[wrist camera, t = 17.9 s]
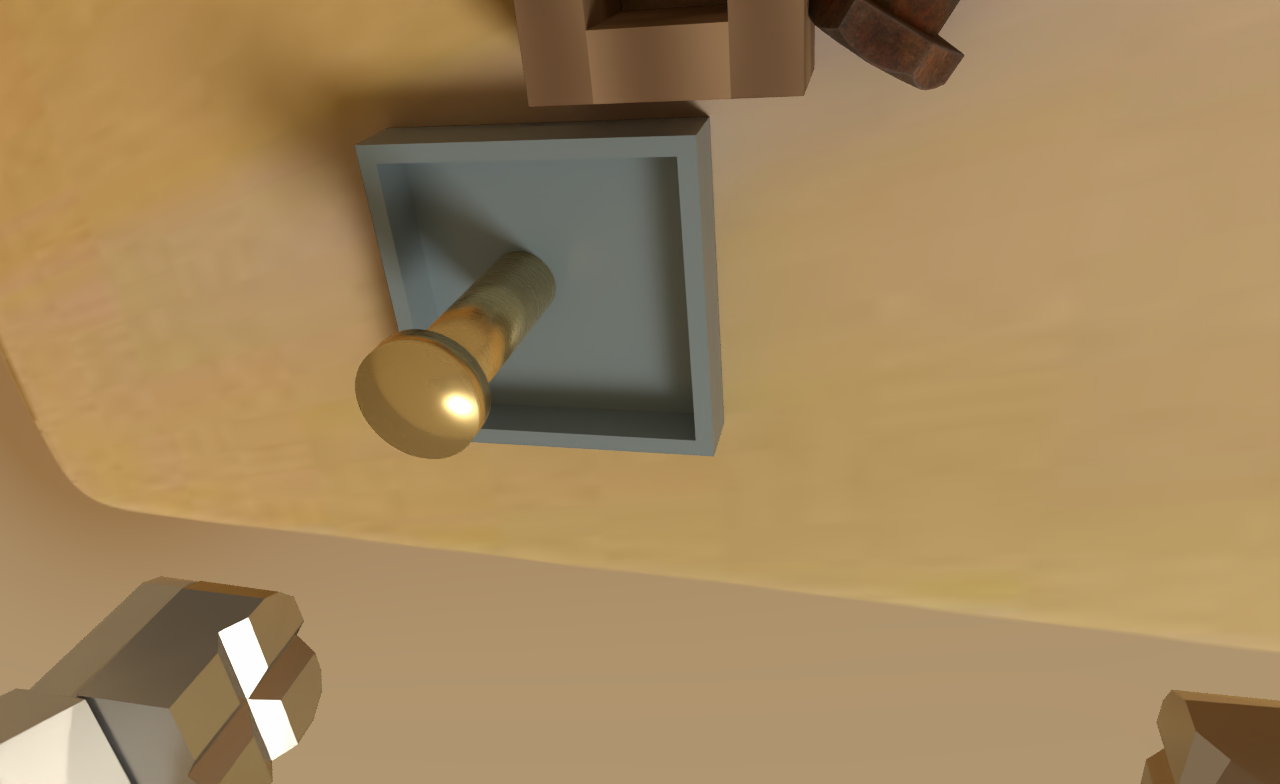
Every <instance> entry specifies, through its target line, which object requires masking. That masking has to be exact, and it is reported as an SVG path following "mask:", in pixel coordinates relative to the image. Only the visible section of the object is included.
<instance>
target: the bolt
mask: <svg viewBox="0 0 1280 784" xmlns="http://www.w3.org/2000/svg"><path fill="white" fill-rule="evenodd" d="M959 1H960V0H809V18H810V20H811V21H812V22H813V24H814V25H815V26H817V27H818V28H819V29H821V30H822V31H823V32H825V33H826V34H827V35H829V36H830V37H831V38H833V39H834V40H835V41H837V42H838V43H840V44H841V45H843V46H844V47H846V48H847V49H849V50H850V51H852V52H853V53H855V54H856V55H858V56H859V57H860V58H862V59H863V60H865V61H866V62H868V63H870V64H871V65H873V66H875V67H877V68H879V69H881V70H883V71H884V72H886V73H888V74H890V75H892V76H894V77H895V78H897V79H899V80H901V81H904V82H906V83H908V84H910V85H912V86H914V87H916V88H919V89H921V90H930V89H934V88H937V87H939V86H941V85H944V84H945V83H946V81H947V80H948V78H949V77H950V75H951V74H952V73H953V71H954V70H955V68H956V67H957V65H958V64H959V63H960V61H961V60H962V58H963V57H964V54H963V53H961V52H960V51H959V50H957V49H956V48H955V47H953V46H952V45H951V44H949V43H948V42H947V41H946V40H944V39H943V38H942V37H940V36H939V35H938V33H939V32H940V30H941V29H942V27H943V25H944V24H945V22H946V21H947V19H948V18H949V16H950V15H951V13H952V12H953V10H954V9H955V7H956V5H957V4H958V2H959Z"/></svg>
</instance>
